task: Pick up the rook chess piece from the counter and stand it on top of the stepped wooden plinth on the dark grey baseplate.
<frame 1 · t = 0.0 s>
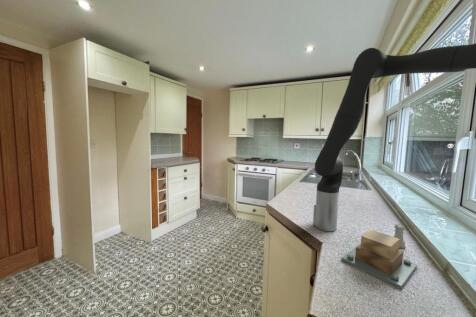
baseplate: (378, 263, 65), on the worktop
rook chess piece: (397, 245, 77), on the worktop
stepped wooden plinth: (378, 263, 65), resting on baseplate
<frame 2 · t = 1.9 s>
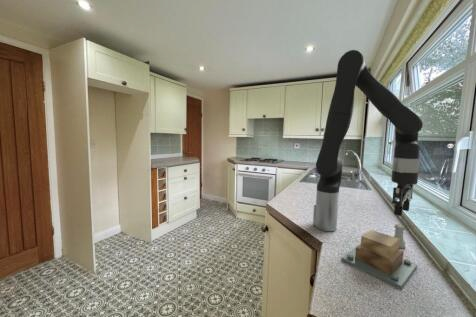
hand: (401, 212, 76), 13 cm above the worktop, tool pointing down, fingers open, 8 cm apart
nothing on the worktop moved.
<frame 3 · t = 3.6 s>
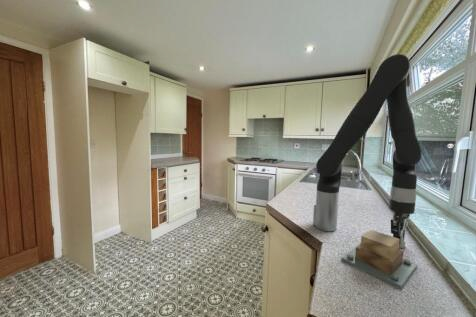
hand: (398, 242, 77), 1 cm above the worktop, tool pointing down, fingers closed on rook chess piece, 4 cm apart
rook chess piece: (397, 245, 77), on the worktop, touching gripper
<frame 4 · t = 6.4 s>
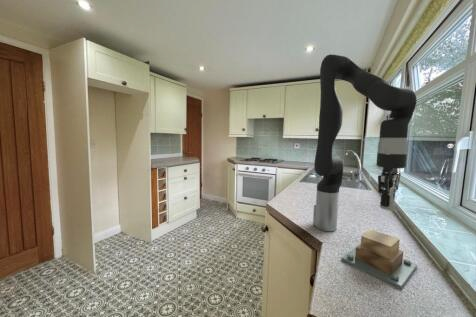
hand: (387, 204, 65), 19 cm above the worktop, tool pointing down, fingers closed on rook chess piece, 4 cm apart
rook chess piece: (387, 209, 65), point 18 cm above the worktop, touching gripper
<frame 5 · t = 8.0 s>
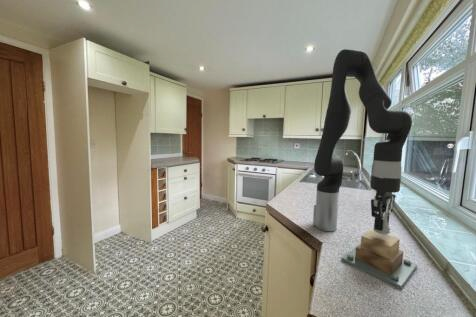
hand: (381, 227, 64), 12 cm above the worktop, tool pointing down, fingers closed on rook chess piece, 4 cm apart
rook chess piece: (381, 232, 64), point 11 cm above the worktop, touching gripper
when the fingers open (12 cm above the worktop, at t = 9.2 s): rook chess piece drops 1 cm, resting on stepped wooden plinth.
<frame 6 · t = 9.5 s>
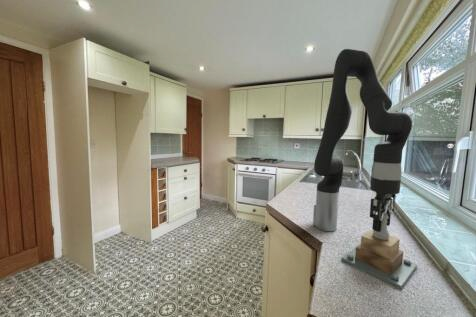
hand: (381, 227, 64), 12 cm above the worktop, tool pointing down, fingers open, 7 cm apart
rook chess piece: (380, 237, 64), point 9 cm above the worktop, touching stepped wooden plinth
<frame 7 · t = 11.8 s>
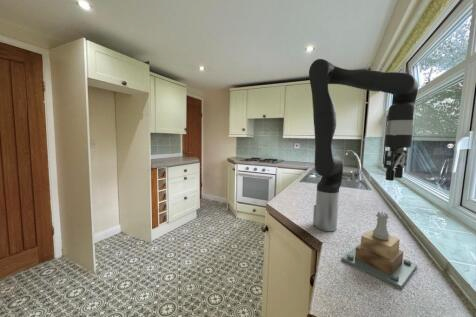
hand: (393, 179, 72), 26 cm above the worktop, tool pointing down, fingers open, 8 cm apart
nothing on the worktop moved.
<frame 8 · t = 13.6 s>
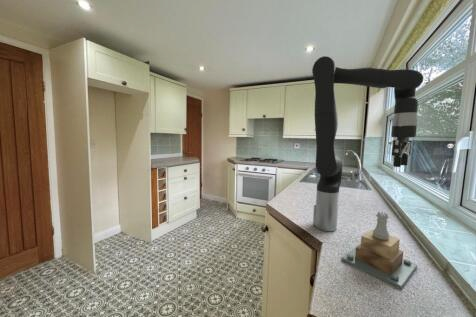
hand: (400, 166, 80), 30 cm above the worktop, tool pointing down, fingers open, 8 cm apart
nothing on the worktop moved.
at the end: rook chess piece 0.1 cm off-centre on the stepped wooden plinth, point 8.8 cm above the stepped wooden plinth's base; rook chess piece tilted 0°; the gripper is holding nothing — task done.
